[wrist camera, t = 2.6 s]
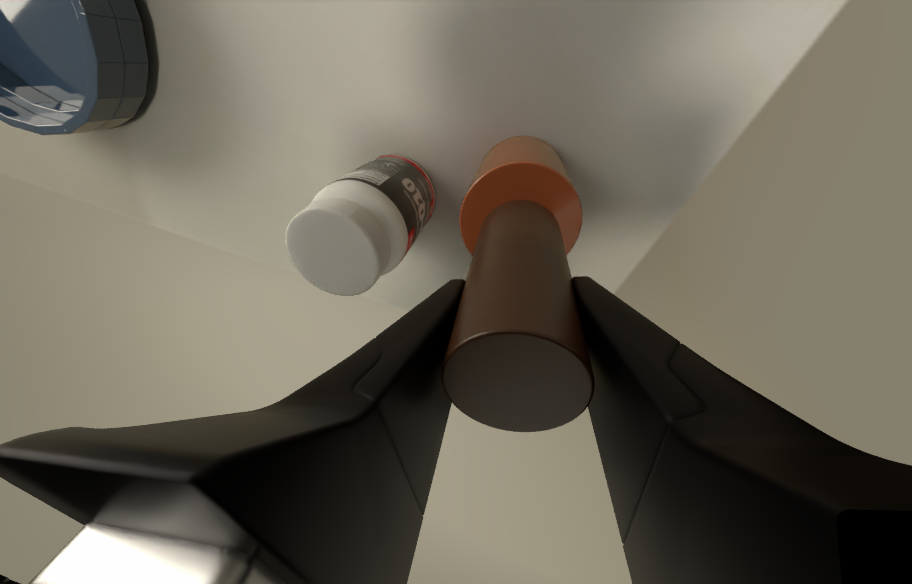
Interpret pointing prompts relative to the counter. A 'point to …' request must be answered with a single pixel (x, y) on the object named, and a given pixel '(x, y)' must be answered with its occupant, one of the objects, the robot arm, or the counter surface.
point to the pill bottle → (361, 225)
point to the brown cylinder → (519, 327)
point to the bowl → (71, 64)
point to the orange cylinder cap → (521, 187)
